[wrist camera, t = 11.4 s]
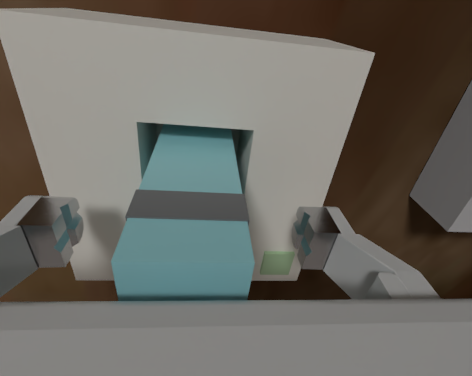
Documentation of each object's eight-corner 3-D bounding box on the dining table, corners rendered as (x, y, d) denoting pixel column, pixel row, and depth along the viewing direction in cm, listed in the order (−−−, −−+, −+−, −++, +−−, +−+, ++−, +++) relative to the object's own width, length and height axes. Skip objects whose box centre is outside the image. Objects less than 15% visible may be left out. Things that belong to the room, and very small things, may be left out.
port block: (65, 7, 12) (-14, 8, 8) (324, 38, 14) (377, 54, 9) (105, 218, 19) (74, 283, 14) (278, 224, 20) (297, 283, 16)
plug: (168, 108, 14) (108, 259, 6) (229, 113, 14) (257, 261, 6) (170, 183, 16) (130, 367, 8) (222, 186, 17) (235, 363, 8)
